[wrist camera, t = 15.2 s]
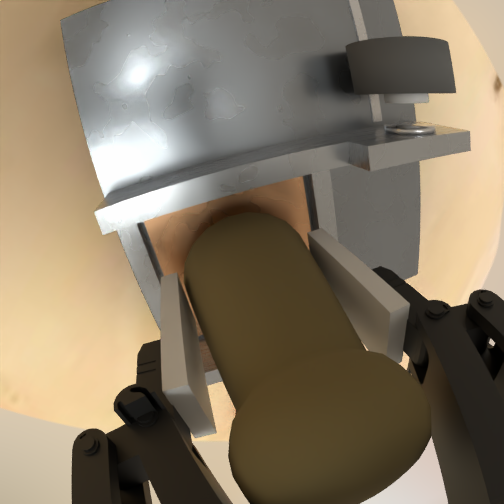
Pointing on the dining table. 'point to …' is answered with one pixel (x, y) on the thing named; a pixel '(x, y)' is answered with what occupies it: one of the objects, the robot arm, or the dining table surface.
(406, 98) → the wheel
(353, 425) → the olive brown pawn
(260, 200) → the plate
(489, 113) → the dining table surface
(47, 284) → the dining table surface
